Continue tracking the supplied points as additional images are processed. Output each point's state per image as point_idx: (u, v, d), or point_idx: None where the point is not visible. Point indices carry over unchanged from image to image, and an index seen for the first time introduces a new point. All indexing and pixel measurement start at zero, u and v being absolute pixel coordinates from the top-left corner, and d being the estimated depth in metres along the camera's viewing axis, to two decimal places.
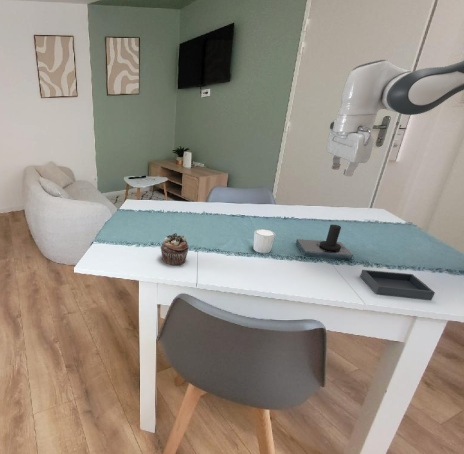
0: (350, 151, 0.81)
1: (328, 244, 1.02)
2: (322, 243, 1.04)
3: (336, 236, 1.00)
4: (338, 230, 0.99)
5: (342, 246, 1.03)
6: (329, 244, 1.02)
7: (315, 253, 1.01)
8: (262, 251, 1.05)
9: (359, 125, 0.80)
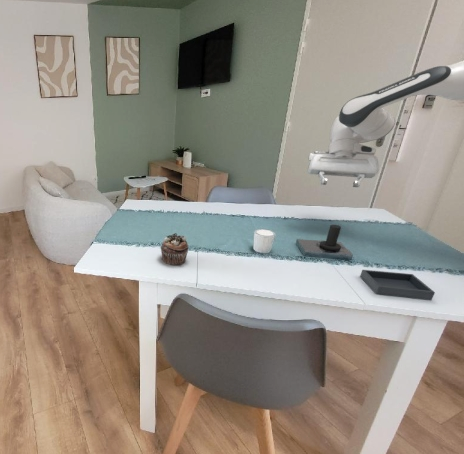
0: None
1: (328, 244, 1.02)
2: (322, 243, 1.04)
3: (336, 236, 1.00)
4: (338, 230, 0.99)
5: (342, 246, 1.03)
6: (329, 244, 1.02)
7: (315, 253, 1.01)
8: (262, 251, 1.05)
9: None
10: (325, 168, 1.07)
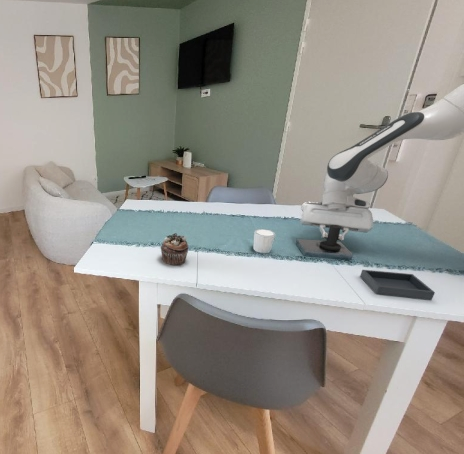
0: None
1: (328, 244, 1.02)
2: (322, 243, 1.04)
3: (336, 236, 1.00)
4: (338, 230, 0.99)
5: (342, 246, 1.03)
6: (329, 244, 1.02)
7: (315, 253, 1.01)
8: (262, 251, 1.05)
9: None
10: (318, 220, 1.04)
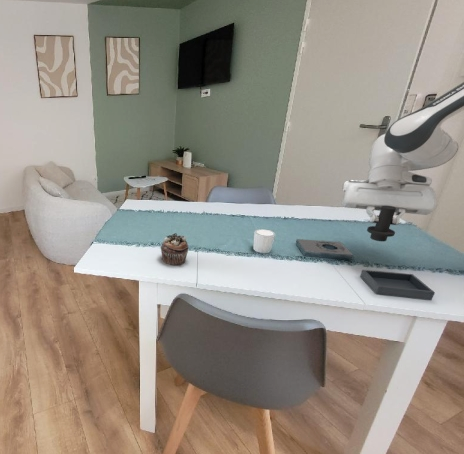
0: None
1: (379, 229, 0.85)
2: (370, 228, 0.86)
3: (389, 219, 0.82)
4: (392, 212, 0.82)
5: (342, 246, 1.03)
6: (380, 229, 0.84)
7: (315, 253, 1.01)
8: (262, 251, 1.05)
9: None
10: (365, 201, 0.86)
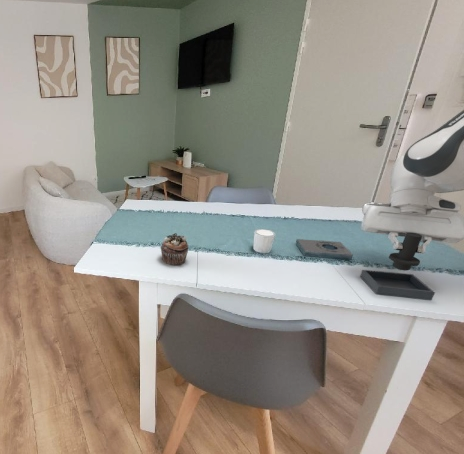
0: None
1: (402, 258, 0.79)
2: (393, 256, 0.81)
3: (414, 247, 0.77)
4: (418, 240, 0.76)
5: (342, 246, 1.03)
6: (404, 258, 0.79)
7: (315, 253, 1.01)
8: (262, 251, 1.05)
9: (389, 203, 0.84)
10: (388, 226, 0.81)
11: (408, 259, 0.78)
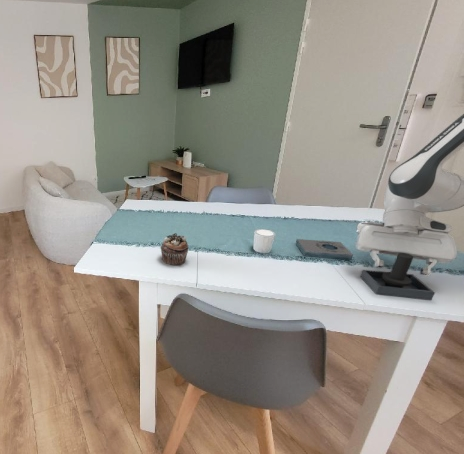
0: None
1: (394, 277, 0.81)
2: (386, 275, 0.83)
3: (406, 268, 0.79)
4: (410, 261, 0.78)
5: (342, 246, 1.03)
6: (396, 277, 0.81)
7: (315, 253, 1.01)
8: (262, 251, 1.05)
9: (382, 223, 0.87)
10: (381, 246, 0.83)
11: (400, 279, 0.81)
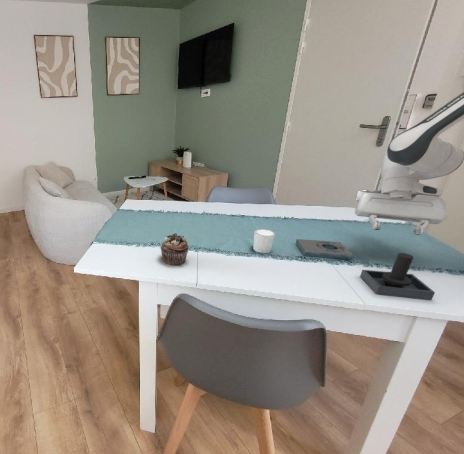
0: None
1: (394, 277, 0.81)
2: (386, 275, 0.83)
3: (406, 268, 0.79)
4: (410, 261, 0.78)
5: (342, 246, 1.03)
6: (396, 277, 0.81)
7: (315, 253, 1.01)
8: (262, 251, 1.05)
9: None
10: (378, 210, 0.91)
11: (400, 279, 0.81)
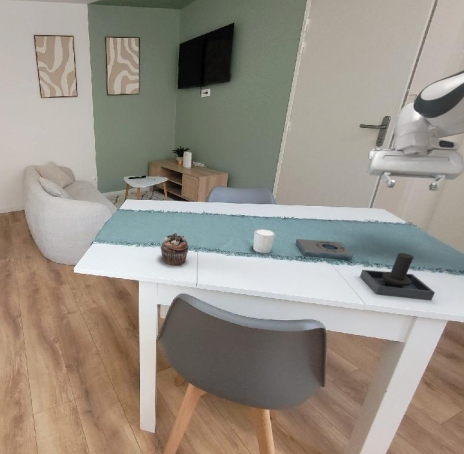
0: None
1: (394, 277, 0.81)
2: (386, 275, 0.83)
3: (406, 268, 0.79)
4: (410, 261, 0.78)
5: (342, 246, 1.03)
6: (396, 277, 0.81)
7: (315, 253, 1.01)
8: (262, 251, 1.05)
9: (393, 149, 0.92)
10: (392, 167, 0.88)
11: (400, 279, 0.81)
